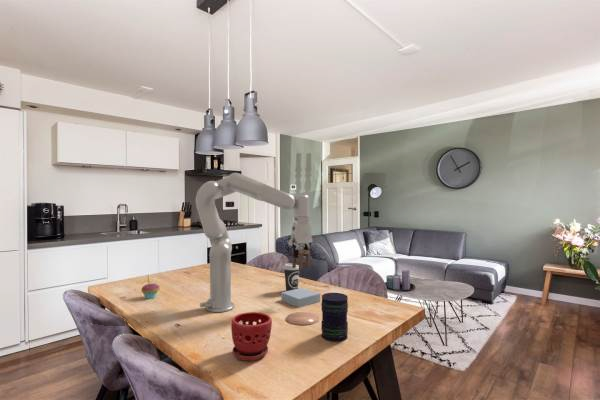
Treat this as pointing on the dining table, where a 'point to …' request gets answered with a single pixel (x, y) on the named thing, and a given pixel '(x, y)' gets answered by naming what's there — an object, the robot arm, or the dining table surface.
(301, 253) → the stool
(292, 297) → the step
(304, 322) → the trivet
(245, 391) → the dining table surface
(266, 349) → the plant pot
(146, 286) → the cupcake
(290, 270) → the coffee cup
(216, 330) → the dining table surface
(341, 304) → the storage jar
